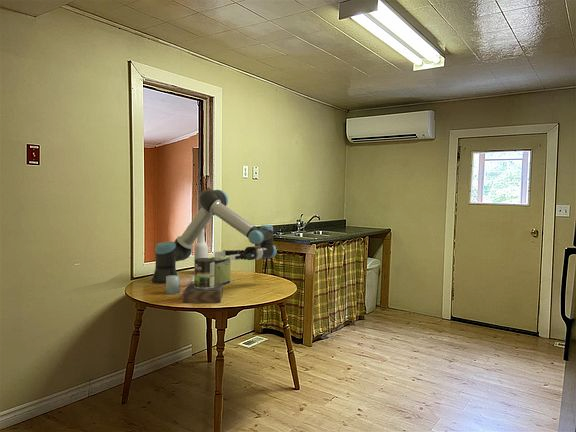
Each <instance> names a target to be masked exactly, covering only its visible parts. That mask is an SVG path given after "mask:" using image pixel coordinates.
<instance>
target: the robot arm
mask: <svg viewBox="0 0 576 432" xmlns="http://www.w3.org/2000/svg"><path fill="white" fill-rule="evenodd" d="M228 203H229V197H228V195H227V193H226V192H225V191H224V190H221V189H205V190H203V191H201V193H200V194H199V196H198V204H199V206H200V207H201V208H200V209H199V210H198V212H197V213H196V214H195V216H194V217H193V219H192V220H191V222H190V223H189V224H188V226H187V227H186V229H184V232H183V233H182V234H181V235H180V236H177V237H176V238H175V239H174V241H170V240H169V241H163V242H159V243H157V244H156V246H155V270H154V273H153V274H152V275H153V276H152V278H151V279H152V282H153V283H154V284H165V285H166V276H169V275H179V274H178V272H177V269H176V262H180V261H185V260H187V259H189V257H191V255H192V252H193V250H192V249H193V248H194V243H195V241H196V240H197V239H198V236H199V234H200V233H201V232H202V230H203V229H204V230H205V227H206V226H207V224H208V223H209V222H210V221H211V219H212V218H213V216H216V217H217V218H219V219H220V220H222V221H224V222H225V223H226V224H227V225H229V226H230V227H231V228H232V229H235V230H236V231H237V232H239V233H240V234H241V235H243V236H244V237H246V238H248V241H249V242H250V243H251V244H253V245H254V246H247V247H245V249H241V250H240V249H238V250H237V249H236V250H234V249H233V250H225V249H224V250H222V251H215V252H214V257H229V260H230V261H238V260H244V261H245V260H247V261H253V260H255V261H259V260H261V259H263V260H264V259H271V258H275V257H276V255H277V252H278V251H277V247H276V245H274V244H273V242H274V227H273V225H270V224H261V225H260V229H259V228H257V226H255V225H254V224H252V223H251V222H249V221H248V220H246V219H245V218H243V217H242V216H241V215H239V214H238V213H236V212H235V211H233V210H232V209H231V208H229V207H228Z"/></svg>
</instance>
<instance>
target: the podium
mask: <svg viewBox="0 0 576 432" xmlns="http://www.w3.org/2000/svg"><path fill="white" fill-rule="evenodd" d="M182 294H183V295H182V299H183V300H182V304H219V303H222V299H223V295H224V285H223V284H214V287H213V288H209V289H198V288H195V287H194V282H193V283H192V282H191V283H188V284H187V286H186V287H185V289H184V290H183V291H182Z"/></svg>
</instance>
